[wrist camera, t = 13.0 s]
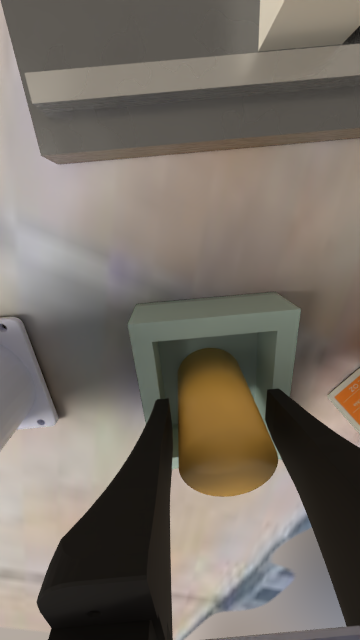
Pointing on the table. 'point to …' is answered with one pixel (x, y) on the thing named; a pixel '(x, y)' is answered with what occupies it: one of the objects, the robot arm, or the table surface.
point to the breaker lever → (306, 23)
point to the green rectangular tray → (214, 345)
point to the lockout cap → (220, 427)
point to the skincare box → (348, 399)
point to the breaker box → (173, 79)
